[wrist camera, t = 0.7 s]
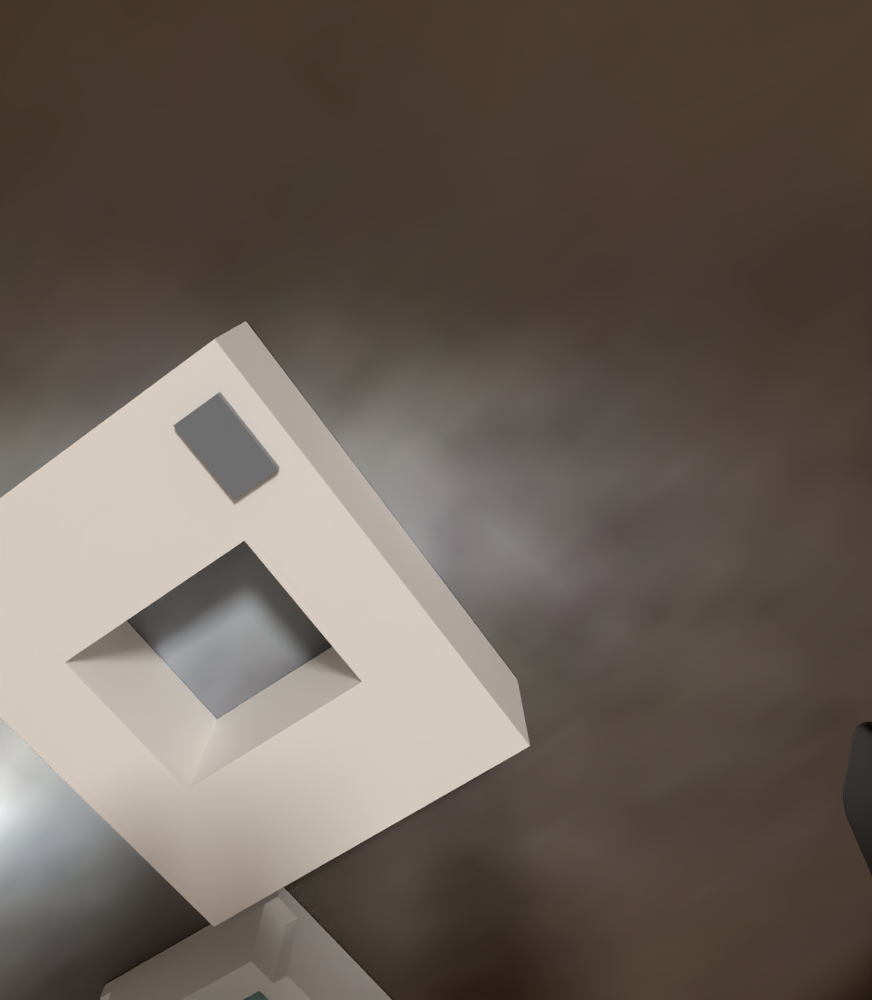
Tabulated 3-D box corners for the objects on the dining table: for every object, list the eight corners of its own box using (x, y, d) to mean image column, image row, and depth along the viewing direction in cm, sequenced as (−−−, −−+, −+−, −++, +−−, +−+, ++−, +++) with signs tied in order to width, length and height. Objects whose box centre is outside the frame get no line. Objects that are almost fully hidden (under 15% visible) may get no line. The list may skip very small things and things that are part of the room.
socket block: (517, 679, 23) (530, 751, 20) (238, 844, 25) (212, 933, 22) (246, 320, 19) (212, 340, 16) (-53, 542, 21) (-133, 596, 18)
